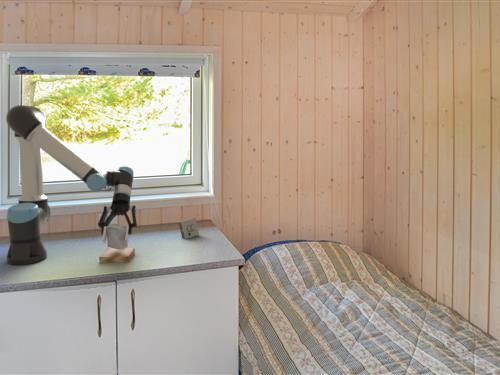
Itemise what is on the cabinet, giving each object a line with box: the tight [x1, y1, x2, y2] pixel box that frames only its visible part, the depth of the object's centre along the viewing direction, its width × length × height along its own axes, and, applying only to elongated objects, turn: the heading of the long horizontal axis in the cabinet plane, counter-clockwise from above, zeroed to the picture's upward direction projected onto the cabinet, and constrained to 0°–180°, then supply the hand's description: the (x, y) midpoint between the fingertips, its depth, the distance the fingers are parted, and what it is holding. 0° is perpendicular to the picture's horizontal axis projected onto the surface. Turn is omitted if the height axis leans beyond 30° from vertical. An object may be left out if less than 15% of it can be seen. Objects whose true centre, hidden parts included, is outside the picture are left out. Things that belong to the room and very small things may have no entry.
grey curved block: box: [106, 225, 129, 250], centre depth 177 cm, size 8×4×9 cm, turn 58°
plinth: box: [98, 247, 136, 264], centre depth 178 cm, size 12×12×2 cm
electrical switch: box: [178, 217, 200, 240], centre depth 211 cm, size 9×5×9 cm, turn 141°
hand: (115, 241), depth 174 cm, fingers closed on grey curved block, 9 cm apart
